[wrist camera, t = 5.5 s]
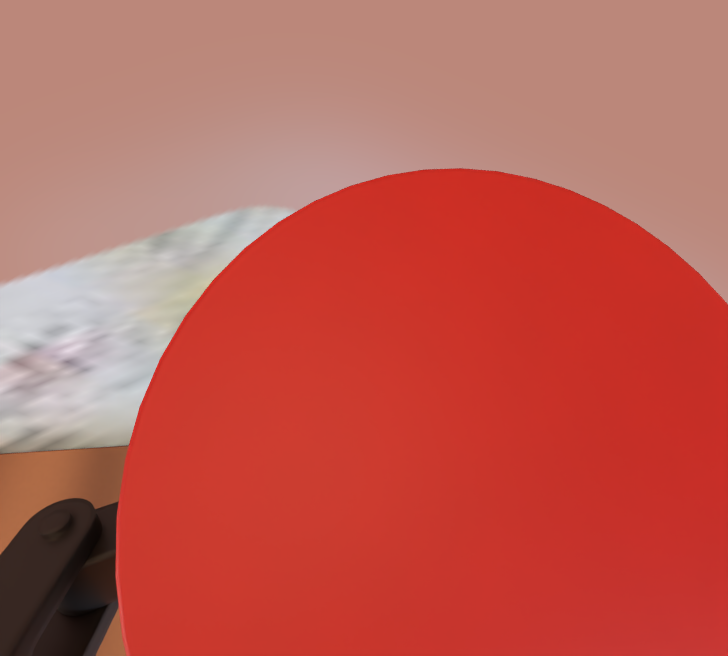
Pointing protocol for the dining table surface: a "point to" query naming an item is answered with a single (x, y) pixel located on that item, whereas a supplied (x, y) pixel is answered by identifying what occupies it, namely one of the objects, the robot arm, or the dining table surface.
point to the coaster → (60, 496)
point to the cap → (435, 438)
